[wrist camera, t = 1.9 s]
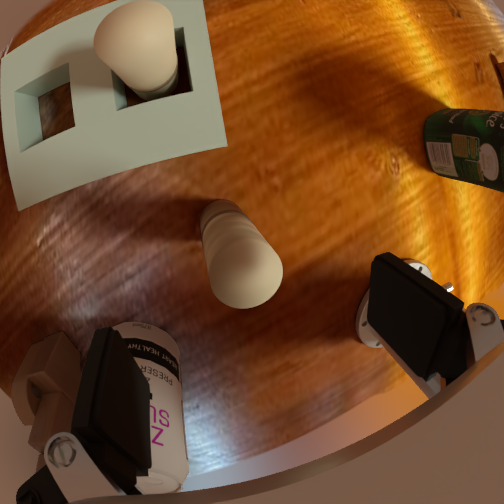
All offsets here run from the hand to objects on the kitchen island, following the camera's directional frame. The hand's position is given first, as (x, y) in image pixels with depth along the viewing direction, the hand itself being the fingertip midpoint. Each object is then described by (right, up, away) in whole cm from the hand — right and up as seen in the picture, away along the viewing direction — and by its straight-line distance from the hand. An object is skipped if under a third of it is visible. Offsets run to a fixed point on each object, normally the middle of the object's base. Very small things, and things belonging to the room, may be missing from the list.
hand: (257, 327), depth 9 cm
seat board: (-11, +15, +7) cm, 20 cm away
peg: (-3, +5, +13) cm, 14 cm away
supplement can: (-12, -7, +16) cm, 21 cm away
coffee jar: (+23, +16, +15) cm, 31 cm away
